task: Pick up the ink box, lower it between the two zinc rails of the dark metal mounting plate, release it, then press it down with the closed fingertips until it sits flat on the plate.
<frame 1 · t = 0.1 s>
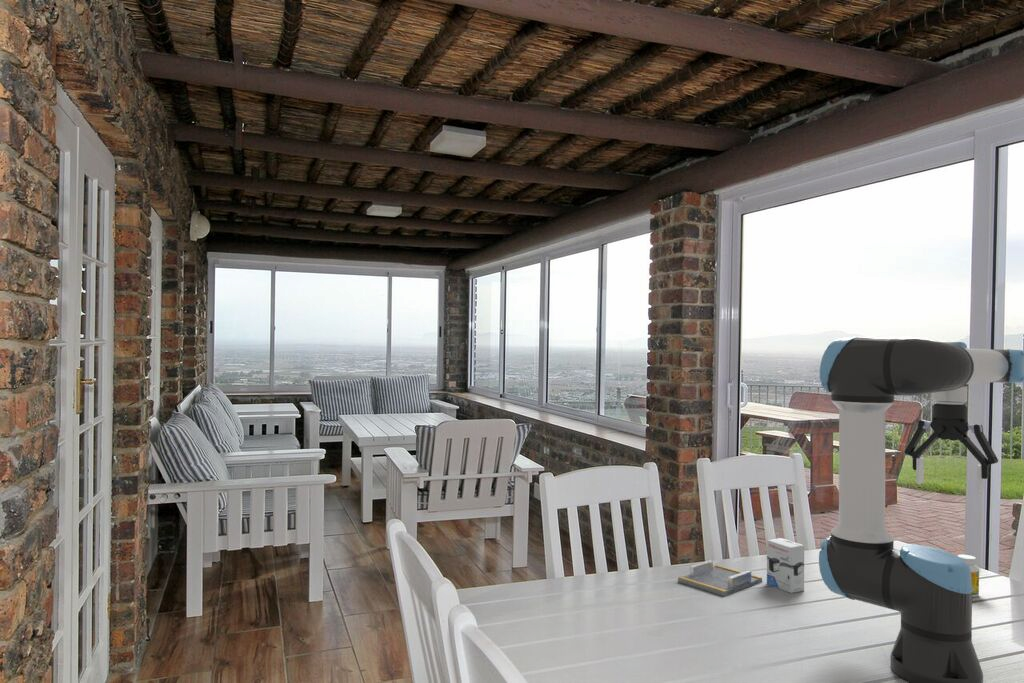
hand: (949, 487, 176), 28 cm above the table, fingers open, 13 cm apart
supplement bottle: (966, 594, 179), on the table
ink box: (785, 588, 183), on the table
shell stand: (899, 572, 196), on the table
rail mount: (720, 582, 187), on the table
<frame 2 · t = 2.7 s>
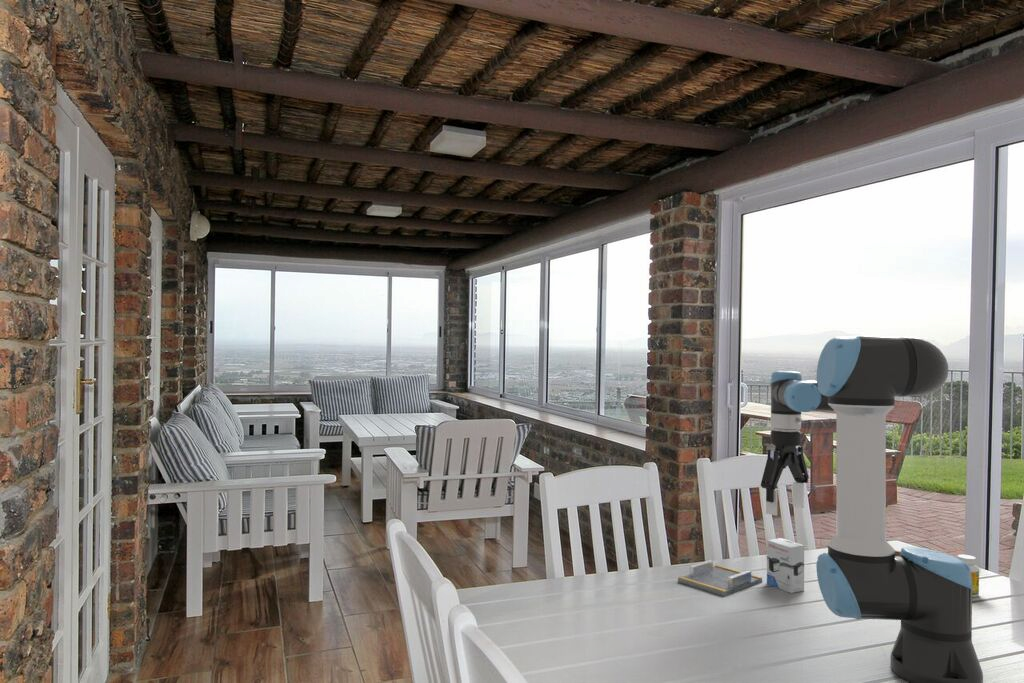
hand: (785, 510, 184), 20 cm above the table, fingers open, 13 cm apart
nothing on the table moved.
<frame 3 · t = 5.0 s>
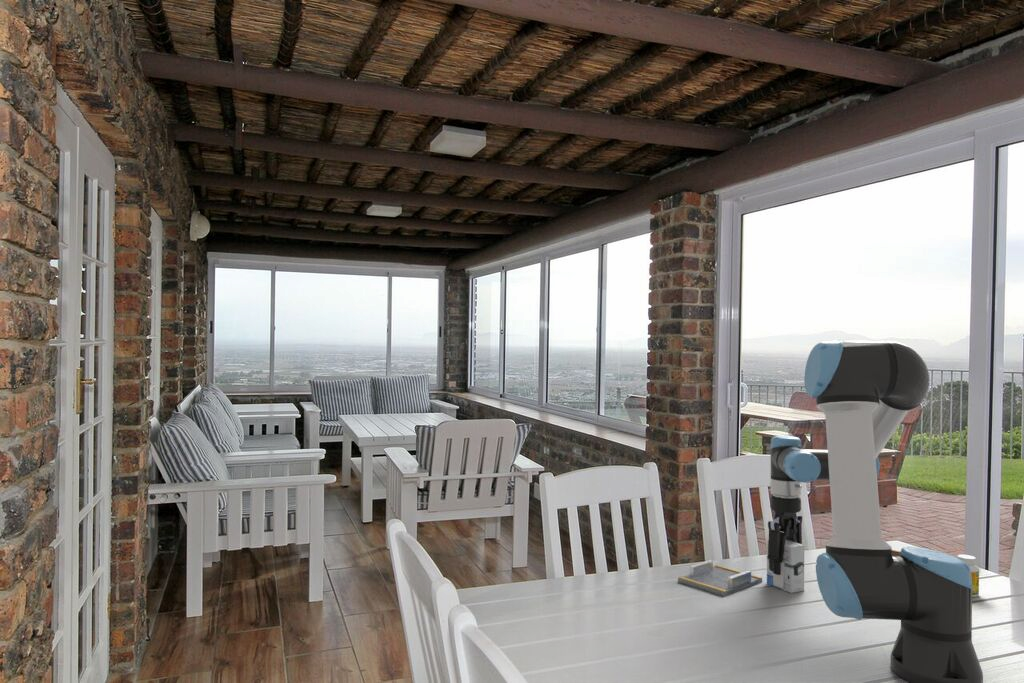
hand: (785, 583, 183), 1 cm above the table, fingers closed on ink box, 6 cm apart
ink box: (785, 587, 183), on the table, touching gripper
everything else where it was.
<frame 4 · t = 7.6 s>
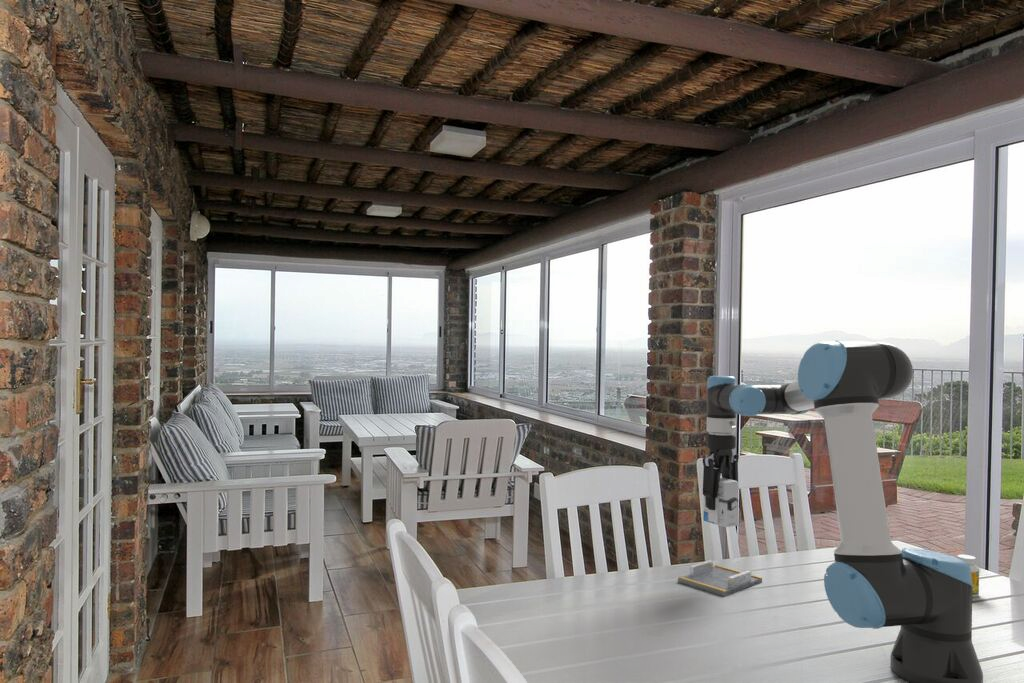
hand: (720, 519, 187), 17 cm above the table, fingers closed on ink box, 6 cm apart
ink box: (720, 524, 187), point 15 cm above the table, touching gripper
everything else where it was.
when the fingers open (3 cm above the table, at t = 10.3 s): ink box drops 1 cm, resting on rail mount.
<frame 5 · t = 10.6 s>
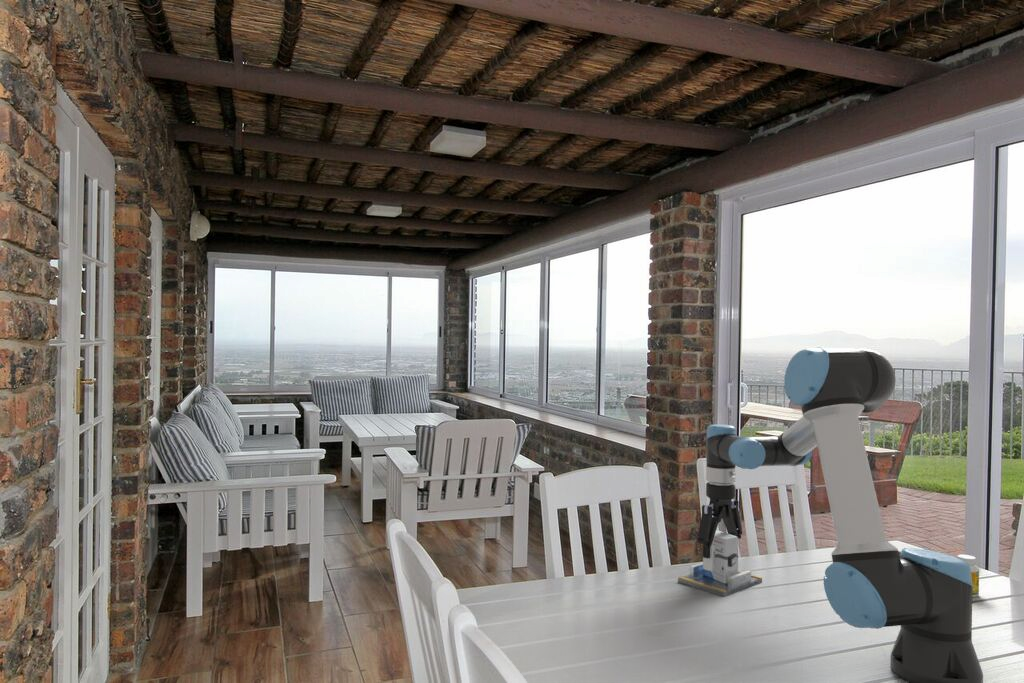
hand: (720, 565, 187), 4 cm above the table, fingers open, 10 cm apart
ink box: (720, 579, 187), point 1 cm above the table, touching rail mount
everything else where it was.
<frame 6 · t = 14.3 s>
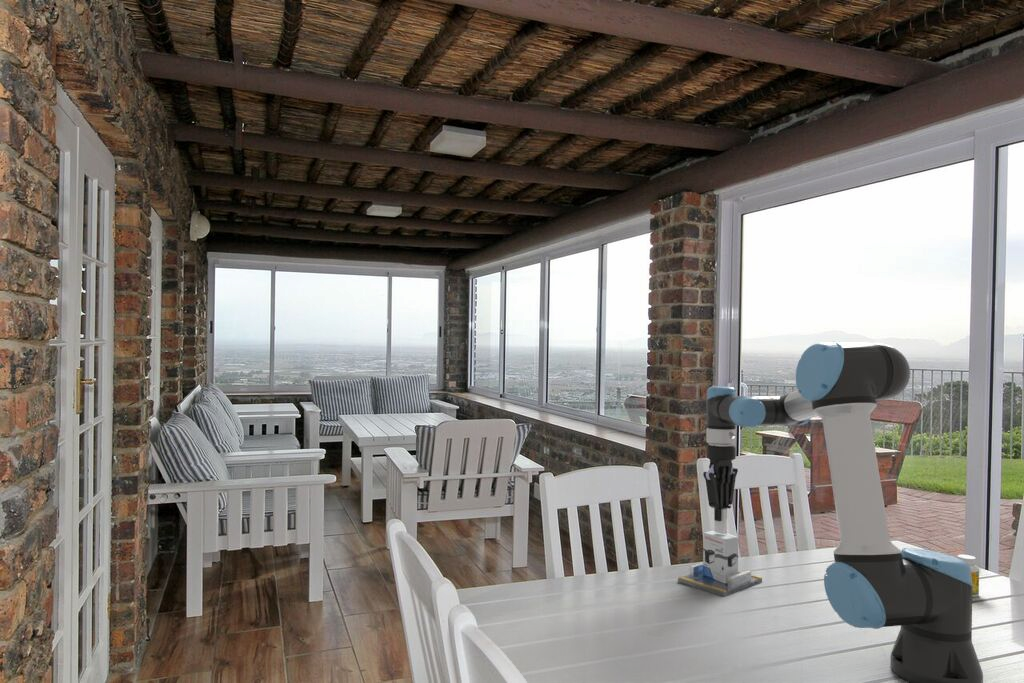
hand: (720, 532, 187), 13 cm above the table, fingers closed
nothing on the table moved.
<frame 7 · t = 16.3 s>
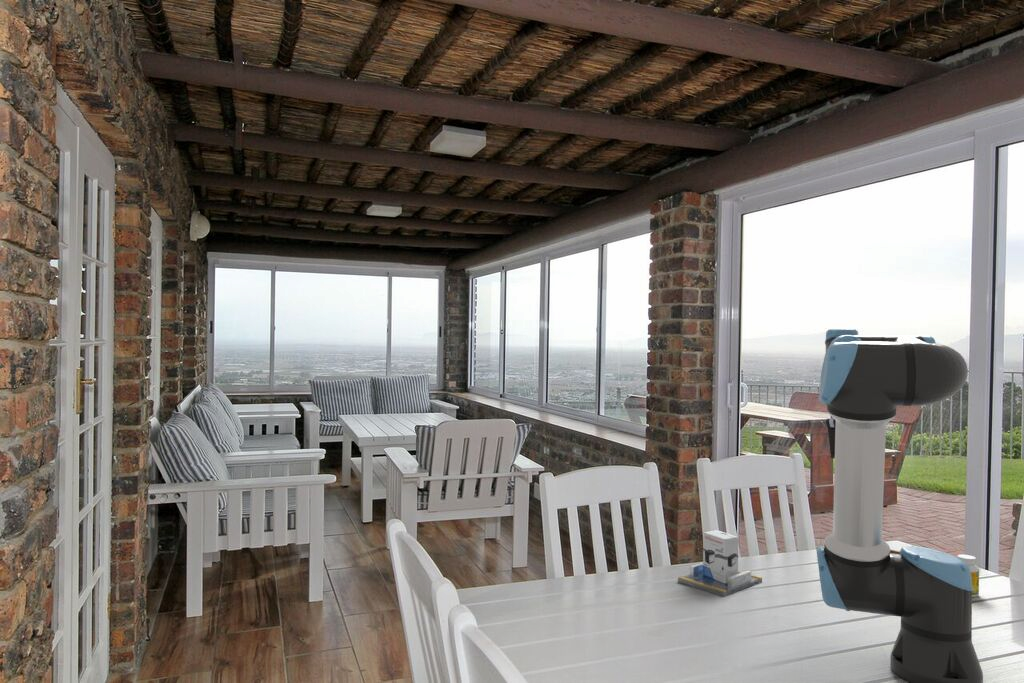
hand: (841, 484, 175), 29 cm above the table, fingers closed
nothing on the table moved.
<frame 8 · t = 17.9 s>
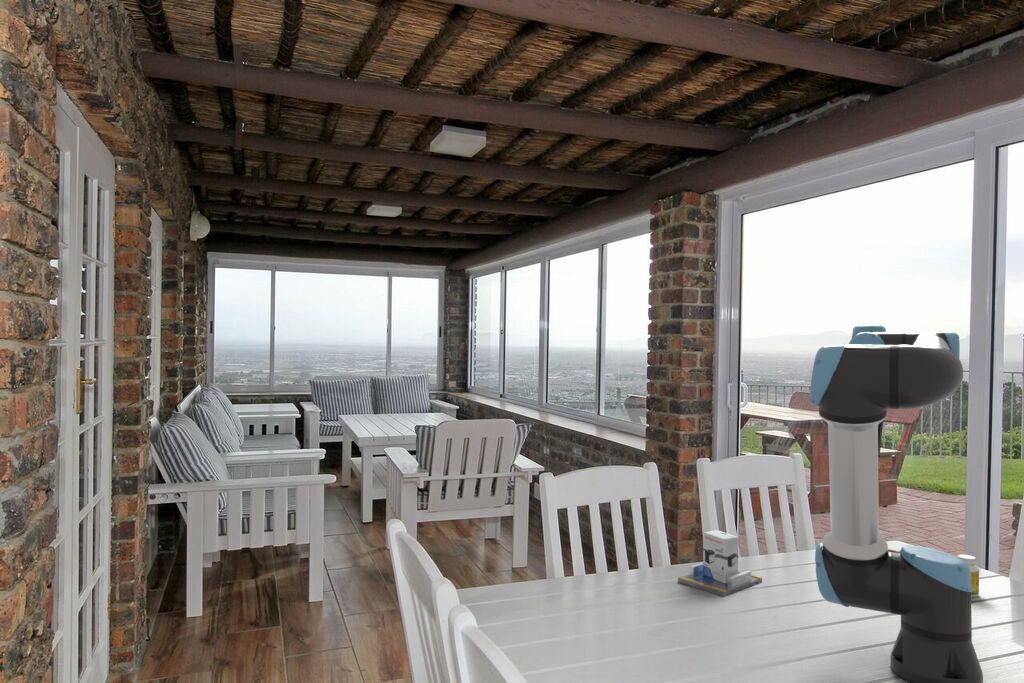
hand: (868, 483, 172), 29 cm above the table, fingers closed
nothing on the table moved.
at the end: ink box 0.0 cm off-centre on the rail mount, point 0.8 cm above the rail mount's base; ink box tilted 0°; the gripper is holding nothing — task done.
